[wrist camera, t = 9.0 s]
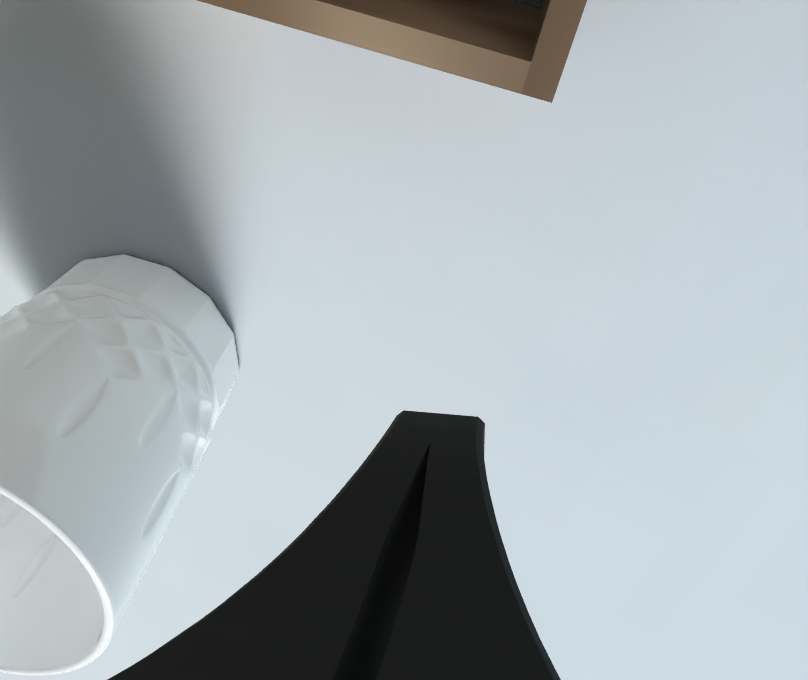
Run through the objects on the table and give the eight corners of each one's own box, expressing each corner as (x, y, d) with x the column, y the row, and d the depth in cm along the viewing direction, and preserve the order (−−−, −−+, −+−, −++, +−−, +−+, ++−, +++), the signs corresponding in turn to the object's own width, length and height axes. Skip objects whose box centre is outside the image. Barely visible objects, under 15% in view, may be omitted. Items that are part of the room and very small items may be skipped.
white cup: (58, 192, 24) (-216, 386, 15) (290, 309, 24) (147, 553, 16) (21, 368, 28) (-207, 591, 20) (218, 462, 29) (77, 714, 21)
